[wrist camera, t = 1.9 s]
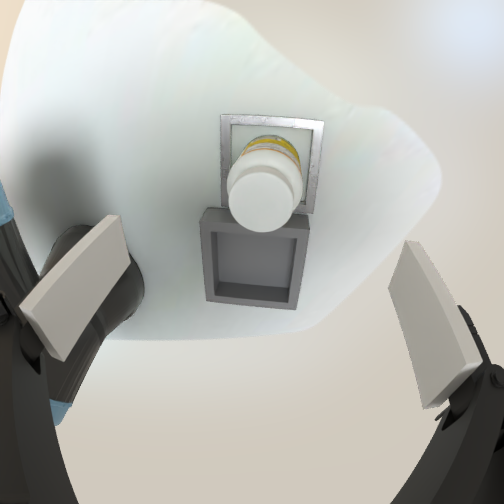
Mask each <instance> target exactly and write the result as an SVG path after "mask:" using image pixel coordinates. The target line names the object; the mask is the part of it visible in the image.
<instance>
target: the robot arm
mask: <svg viewBox="0 0 504 504" xmlns="http://www.w3.org/2000/svg"><path fill="white" fill-rule="evenodd" d="M388 289H389V292H390V295H391V298H392V301H393V304H394V307H395V310H396V312H397V315H398V318H399V321H400V324H401V328H402V331H403V334H404V337H405V340H406V344H407V347H408V351H409V354H410V358H411V361H412V365H413V369H414V372H415V377H416V380H417V384H418V389H419V393H420V398H421V402H422V407H423V409H428V408H434V407H439V406H440V405H442V404H443V402H445V401H446V400H447V399H449V402H450V405H449V406H448V407H447V408H446V409H445V410H444V411H443V412H441V413H440V414H439V415H438V416H437V417H436V419H435V421H437V420H438V419H440V418H441V417H442V416H443V417H442V419H441V421H440V423H439V425H438V427H437V429H436V431H435V434H434V435H433V437H432V439H431V441H430V443H429V445H428V446H427V448H426V450H425V452H424V454H423V455H422V457H421V459H420V460H419V462H418V464H417V465H416V467H415V469H414V470H413V472H412V474H411V475H410V477H409V478H408V480H407V481H406V483H405V484H404V486H403V487H402V488H401V490H400V491H399V493H398V494H397V495H396V497H395V498H394V499H393V501H392V502H391V503H390V504H504V369H503V368H502V367H501V366H499V365H496V364H491V361H490V359H489V357H488V354H487V352H486V350H485V348H484V345H483V343H482V341H481V339H480V337H479V335H477V330H476V328H475V327H474V326H473V325H474V324H473V322H472V320H471V318H470V316H469V314H468V313H467V312H466V311H465V310H464V309H463V308H462V307H461V306H460V305H456V303H455V301H454V299H453V297H452V295H451V294H450V292H449V290H448V288H447V286H446V285H445V283H444V281H443V279H442V278H441V276H440V274H439V273H438V271H437V269H436V268H435V266H434V264H433V263H432V261H431V260H430V258H429V257H428V255H427V253H426V252H425V250H424V249H423V247H422V246H421V244H420V243H419V242H414V241H405V243H404V246H403V249H402V252H401V255H400V258H399V260H398V263H397V266H396V269H395V271H394V274H393V277H392V279H391V282H390V285H389V287H388ZM143 294H144V284H143V279H142V276H141V273H140V271H139V269H138V267H137V265H136V263H135V261H134V260H133V258H132V257H131V256H130V254H129V253H128V249H127V245H126V241H125V236H124V232H123V227H122V222H121V217H120V215H107V216H106V217H105V218H104V219H103V220H101V221H100V222H99V223H98V224H97V225H96V226H95V227H91V226H85V225H79V226H74V227H71V228H69V229H68V230H67V231H65V232H64V233H63V234H62V235H61V236H60V237H59V238H58V239H57V240H56V241H55V243H54V245H53V247H52V250H51V252H50V254H49V256H48V258H47V260H46V262H45V264H44V266H43V268H42V271H41V273H40V275H39V276H38V274H37V272H36V270H35V268H34V265H33V263H32V261H31V259H30V257H29V255H28V252H27V250H26V248H25V245H24V243H23V240H22V238H21V235H20V233H19V230H18V228H17V225H16V222H15V220H14V212H13V209H12V207H10V206H9V203H8V200H7V198H6V195H5V192H4V189H3V186H2V183H1V180H0V504H79V503H78V501H77V498H76V496H75V493H74V491H73V488H72V485H71V483H70V480H69V477H68V474H67V471H66V468H65V464H64V461H63V458H62V454H61V451H60V447H59V443H58V439H57V435H56V430H55V426H57V425H59V424H60V423H61V421H62V419H63V418H64V416H65V414H66V412H67V410H68V408H69V407H71V406H72V404H73V401H74V399H75V396H76V394H77V392H78V390H79V388H80V386H81V384H82V382H83V380H84V377H85V375H86V373H87V371H88V369H89V367H90V365H91V363H92V361H93V360H94V358H95V356H96V354H97V352H98V350H99V348H100V346H101V344H102V342H103V341H104V339H105V337H106V336H107V335H108V334H109V333H111V332H112V331H113V330H114V329H115V328H116V327H117V326H118V325H119V324H121V323H122V322H123V321H125V320H127V319H128V318H130V317H131V316H132V315H133V314H134V312H135V311H136V309H137V308H138V306H139V304H140V302H141V301H142V298H143Z"/></svg>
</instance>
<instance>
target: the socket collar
mask: <svg viewBox="0 0 504 504" xmlns="http://www.w3.org/2000/svg"><path fill="white" fill-rule="evenodd" d="M231 124H247V125H268V126H282V127H294V128H304V129H313V134H312V144H311V155H310V165H309V174H308V183H307V192H306V200H305V202H301V201H300V202H299V204H298V206H297V207H296V208H295V210H294V211H293V212H300V213H311V214H313V211H314V204H315V196H316V189H317V181H318V173H319V164H320V155H321V146H322V136H323V126H324V122H323V121H320V120H311V119H302V118H291V117H279V116H262V115H229V114H223V115H221V206H224V207H229V202H228V200H229V196H228V192H227V178H228V175H229V172H230V170H231Z"/></svg>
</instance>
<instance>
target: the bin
mask: <svg viewBox="0 0 504 504" xmlns="http://www.w3.org/2000/svg"><path fill="white" fill-rule="evenodd" d="M309 231H310V228H309V221H308V215H299V214H292V215H291V217H290V218H289V220H288V221H287V222H286V223H285V224H284V225H283V226H282V227H280V228H278V229H276V230H274V231H270V232H255V231H252V230H249V229H247V228H245V227H243V226H242V225H240V224H239V223H238V222H237V221H236V220H235V218H234V217H233V215H232V214H231V211H230V209H222V208H207V209H206V211H205V213H204V214H203V216H202V218H201V219H200V235H201V248H202V260H203V272H204V282H205V292H206V301H210V302H218V303H227V304H236V305H245V306H255V307H265V308H276V309H288V310H296V307H297V302H298V297H299V291H300V286H301V280H302V274H303V269H304V263H305V257H306V251H307V244H308V238H309Z"/></svg>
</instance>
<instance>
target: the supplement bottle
mask: <svg viewBox="0 0 504 504" xmlns="http://www.w3.org/2000/svg"><path fill="white" fill-rule="evenodd" d="M227 192H228V196H229V200H228V202H229V208H230V211H231V214H232V215H233V217H234V218H235V220H236V221H237V222H238V223H239V224H240V225H242V226H243V227H245V228H247V229H249V230H252V231H255V232H270V231H274V230H276V229H278V228H280V227H282V226H283V225H284V224H285V223H286V222H287V221H288V220H289V218H290V217H291V215H292V212H293V211H294V210H295V208H296V207H297V206H298V204H299V202H300V200H301V197H302V193H303V180H302V173H301V167H300V161H299V156H298V153H297V151H296V149H295V148H294V147H293V145H292V144H291V143H290V142H288V141H287V140H285V139H283V138H281V137H279V136H274V135H265V136H260V137H258V138H255V139H254V140H252V141H251V142H250V143H249V144H248V145H247V146H246V147H245V149H244V150H243V151H242V153H241V154H240V156H239V157H238V159H237V160H236V162H235V163H234V164H233V166H232V168H231V170H230V172H229V175H228V178H227Z"/></svg>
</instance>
